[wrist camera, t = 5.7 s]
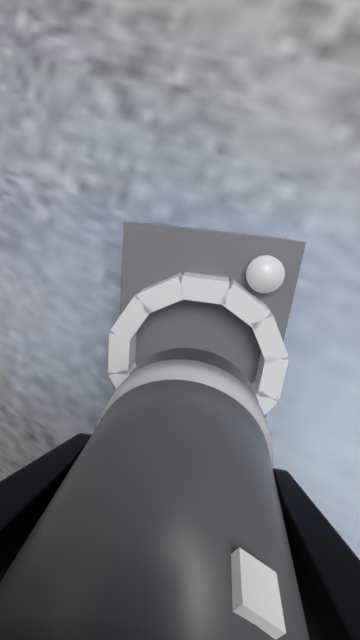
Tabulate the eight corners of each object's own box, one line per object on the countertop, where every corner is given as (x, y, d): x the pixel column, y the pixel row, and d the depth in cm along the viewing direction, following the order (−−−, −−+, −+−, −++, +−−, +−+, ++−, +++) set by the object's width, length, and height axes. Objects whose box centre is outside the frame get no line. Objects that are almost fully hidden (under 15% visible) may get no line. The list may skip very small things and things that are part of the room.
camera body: (249, 421, 20) (258, 483, 15) (132, 401, 21) (104, 454, 16) (287, 238, 17) (316, 244, 12) (143, 222, 17) (113, 221, 12)
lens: (201, 494, 11) (171, 898, 4) (91, 418, 11) (-122, 734, 4) (296, 405, 10) (475, 824, 3) (172, 313, 9) (41, 545, 2)
